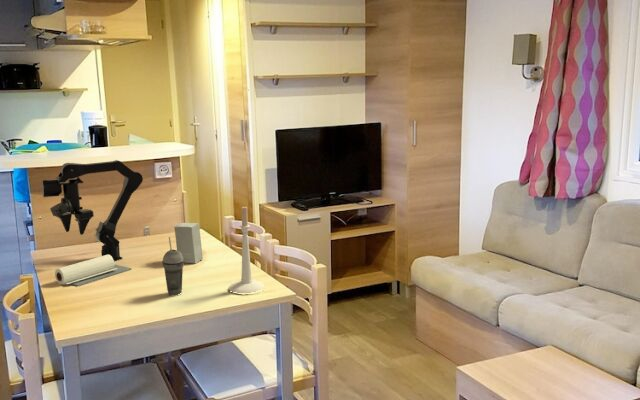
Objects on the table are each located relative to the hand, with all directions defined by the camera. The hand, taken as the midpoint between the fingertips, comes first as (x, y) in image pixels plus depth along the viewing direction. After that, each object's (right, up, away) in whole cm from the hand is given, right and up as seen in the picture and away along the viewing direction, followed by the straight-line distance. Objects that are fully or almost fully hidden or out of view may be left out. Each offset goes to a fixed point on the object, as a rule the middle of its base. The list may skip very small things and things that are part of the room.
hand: (74, 233), depth 239 cm
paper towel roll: (+17, -11, -6) cm, 21 cm away
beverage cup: (+48, -19, -33) cm, 62 cm away
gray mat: (+13, -15, -12) cm, 24 cm away
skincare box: (+45, -12, +6) cm, 47 cm away
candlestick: (+73, -18, -28) cm, 80 cm away
